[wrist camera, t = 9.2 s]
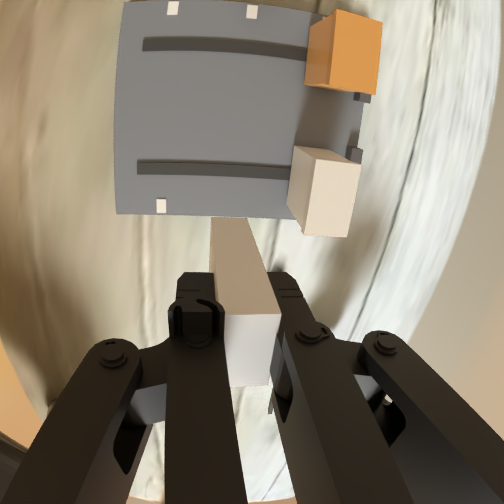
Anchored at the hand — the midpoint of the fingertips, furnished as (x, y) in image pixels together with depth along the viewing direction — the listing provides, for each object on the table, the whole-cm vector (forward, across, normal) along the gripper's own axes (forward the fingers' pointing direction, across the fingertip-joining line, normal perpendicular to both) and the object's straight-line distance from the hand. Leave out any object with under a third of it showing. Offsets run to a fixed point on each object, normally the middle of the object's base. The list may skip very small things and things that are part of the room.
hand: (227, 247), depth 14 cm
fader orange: (+12, +8, +11) cm, 18 cm away
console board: (+14, +2, +6) cm, 15 cm away
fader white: (+12, +7, +1) cm, 14 cm away
